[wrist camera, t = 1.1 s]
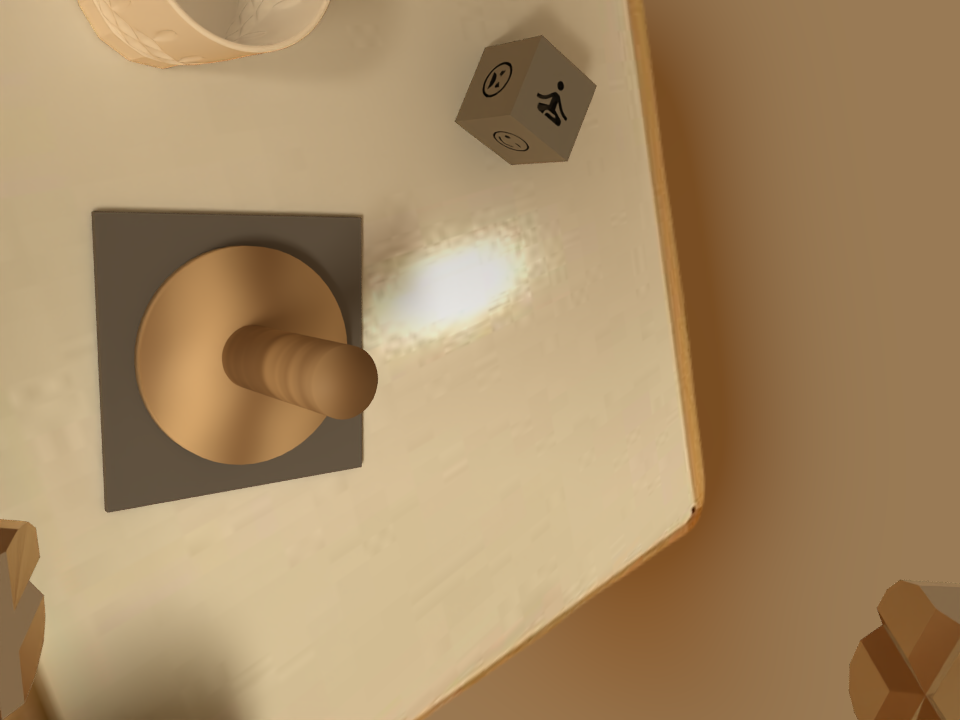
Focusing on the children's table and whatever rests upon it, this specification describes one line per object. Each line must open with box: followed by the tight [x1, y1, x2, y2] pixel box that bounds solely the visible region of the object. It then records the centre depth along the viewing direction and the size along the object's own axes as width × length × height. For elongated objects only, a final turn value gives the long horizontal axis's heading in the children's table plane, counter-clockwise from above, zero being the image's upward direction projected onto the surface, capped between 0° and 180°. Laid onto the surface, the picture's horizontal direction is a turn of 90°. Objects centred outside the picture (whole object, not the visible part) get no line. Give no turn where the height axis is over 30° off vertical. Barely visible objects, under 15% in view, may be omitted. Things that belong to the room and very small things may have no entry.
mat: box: [92, 212, 362, 512], centre depth 46 cm, size 14×14×1 cm
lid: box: [134, 245, 378, 465], centre depth 42 cm, size 11×11×10 cm
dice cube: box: [455, 36, 596, 165], centre depth 53 cm, size 5×5×5 cm
